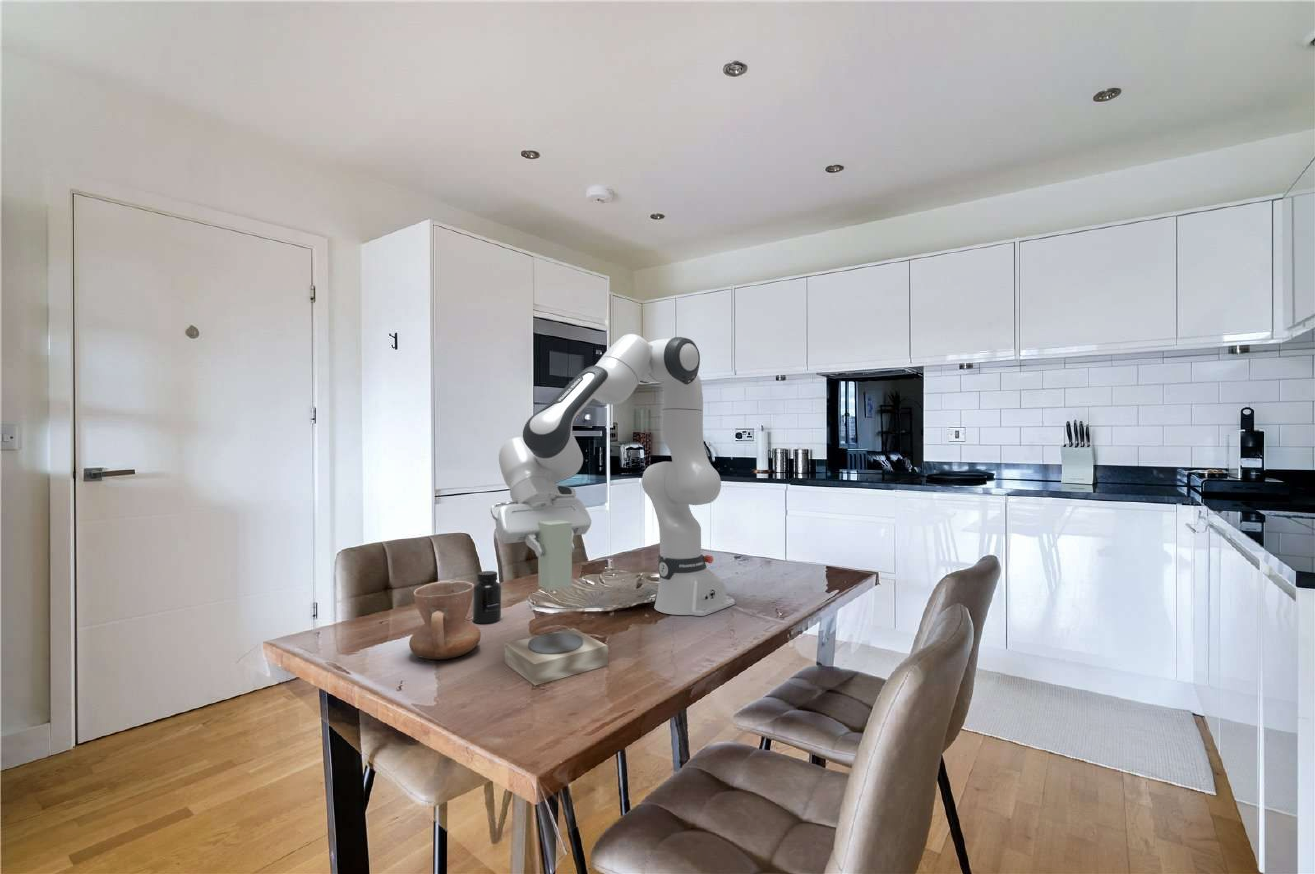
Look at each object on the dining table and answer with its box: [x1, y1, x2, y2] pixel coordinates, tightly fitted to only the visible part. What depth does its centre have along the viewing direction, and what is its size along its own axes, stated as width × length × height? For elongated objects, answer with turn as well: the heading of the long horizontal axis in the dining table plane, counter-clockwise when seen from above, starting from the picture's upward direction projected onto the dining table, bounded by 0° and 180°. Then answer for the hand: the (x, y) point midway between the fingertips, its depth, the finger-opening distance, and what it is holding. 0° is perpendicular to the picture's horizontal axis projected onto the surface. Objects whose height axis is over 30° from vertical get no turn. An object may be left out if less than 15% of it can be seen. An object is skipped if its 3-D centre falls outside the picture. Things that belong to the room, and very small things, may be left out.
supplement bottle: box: [472, 570, 502, 625], centre depth 153 cm, size 7×7×12 cm
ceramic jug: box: [408, 580, 482, 660], centre depth 130 cm, size 18×14×14 cm
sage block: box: [537, 520, 573, 591], centre depth 124 cm, size 5×5×13 cm
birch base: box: [504, 627, 609, 686], centre depth 124 cm, size 16×14×5 cm
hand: (556, 552), depth 123 cm, fingers closed on sage block, 5 cm apart
